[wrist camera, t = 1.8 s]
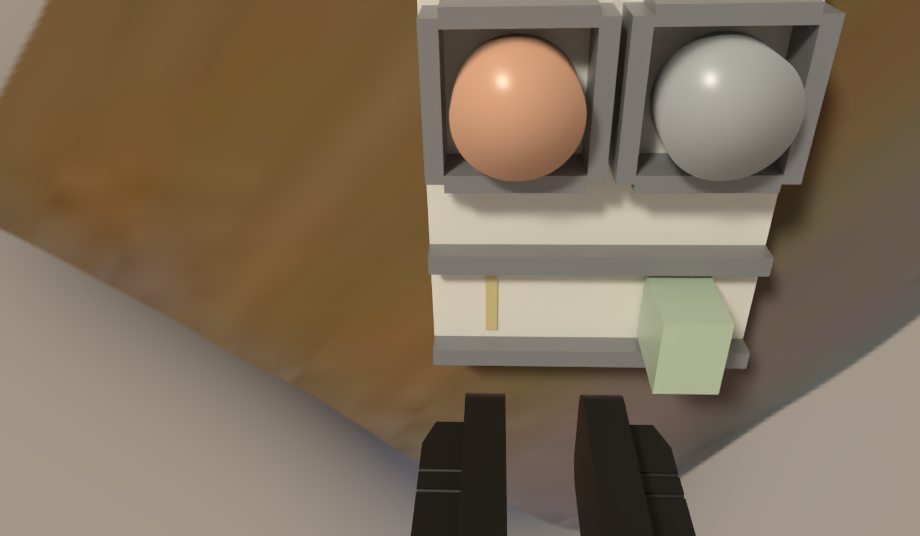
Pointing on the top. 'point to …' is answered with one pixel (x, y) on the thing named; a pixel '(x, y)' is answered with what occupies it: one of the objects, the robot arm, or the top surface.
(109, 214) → the top surface
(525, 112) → the terracotta button
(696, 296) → the sage slider
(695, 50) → the grey button
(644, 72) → the panel
